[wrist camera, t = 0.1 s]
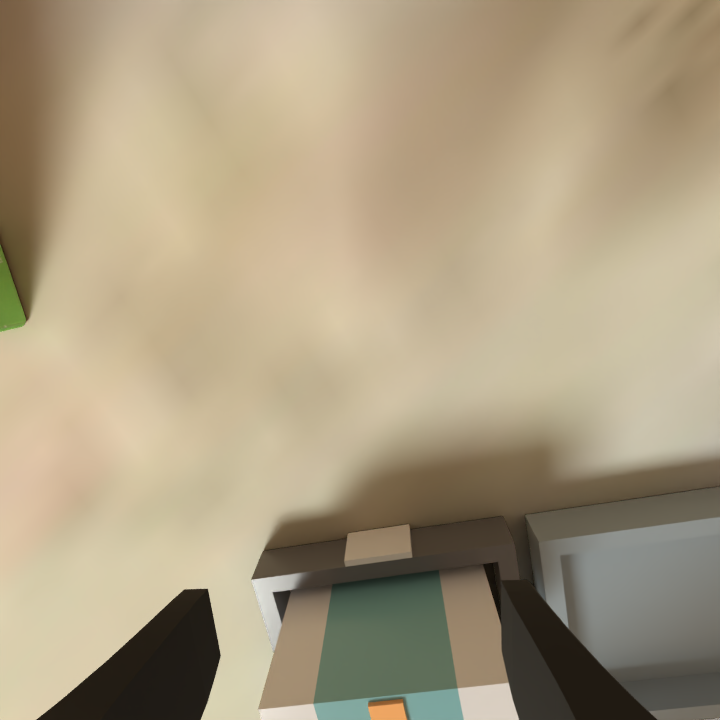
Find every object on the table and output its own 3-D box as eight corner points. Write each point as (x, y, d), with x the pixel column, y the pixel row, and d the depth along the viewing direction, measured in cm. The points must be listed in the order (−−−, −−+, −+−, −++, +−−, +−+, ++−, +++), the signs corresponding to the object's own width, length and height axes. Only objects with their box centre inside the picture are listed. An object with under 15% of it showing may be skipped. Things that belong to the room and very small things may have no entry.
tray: (832, 663, 22) (875, 703, 20) (549, 692, 24) (563, 732, 22) (841, 468, 20) (891, 493, 18) (524, 514, 21) (538, 542, 19)
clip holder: (521, 638, 23) (533, 675, 21) (296, 665, 24) (288, 701, 22) (502, 510, 21) (513, 537, 19) (261, 545, 22) (249, 574, 20)
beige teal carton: (488, 614, 23) (533, 776, 16) (314, 635, 24) (284, 798, 17) (477, 545, 22) (519, 686, 15) (296, 570, 23) (256, 713, 16)
